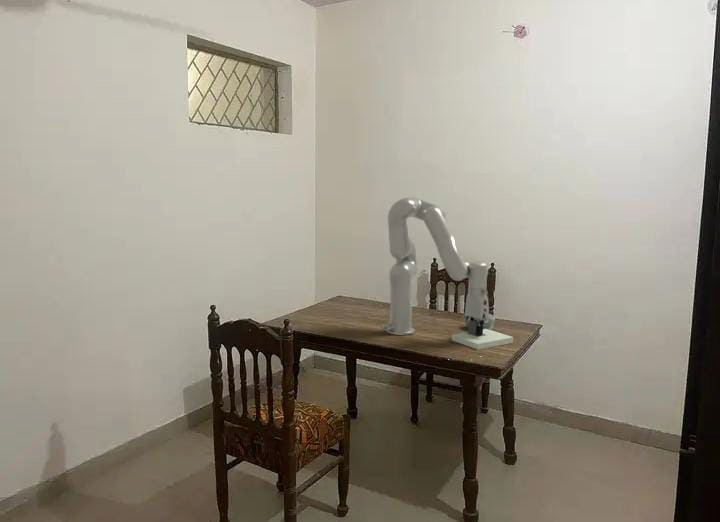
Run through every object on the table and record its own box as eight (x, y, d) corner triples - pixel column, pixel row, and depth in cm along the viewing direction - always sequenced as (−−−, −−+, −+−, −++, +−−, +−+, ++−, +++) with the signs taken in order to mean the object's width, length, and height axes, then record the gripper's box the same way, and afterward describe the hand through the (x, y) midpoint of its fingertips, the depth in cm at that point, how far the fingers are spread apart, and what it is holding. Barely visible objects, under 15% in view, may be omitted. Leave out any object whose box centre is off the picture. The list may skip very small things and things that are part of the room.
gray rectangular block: (474, 340, 235) (475, 322, 234) (467, 338, 239) (468, 320, 238) (481, 339, 237) (482, 321, 236) (474, 337, 241) (475, 319, 240)
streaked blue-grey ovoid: (458, 321, 256) (468, 302, 256) (466, 327, 263) (477, 308, 264) (482, 334, 247) (493, 314, 247) (490, 339, 254) (501, 320, 255)
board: (478, 349, 223) (478, 343, 223) (451, 340, 236) (451, 334, 236) (513, 342, 233) (513, 337, 233) (485, 334, 247) (486, 328, 247)
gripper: (498, 294, 230) (496, 336, 233) (470, 287, 245) (468, 328, 247) (484, 295, 227) (483, 339, 229) (457, 289, 241) (455, 330, 243)
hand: (475, 332), depth 238 cm, fingers closed on gray rectangular block, 4 cm apart
